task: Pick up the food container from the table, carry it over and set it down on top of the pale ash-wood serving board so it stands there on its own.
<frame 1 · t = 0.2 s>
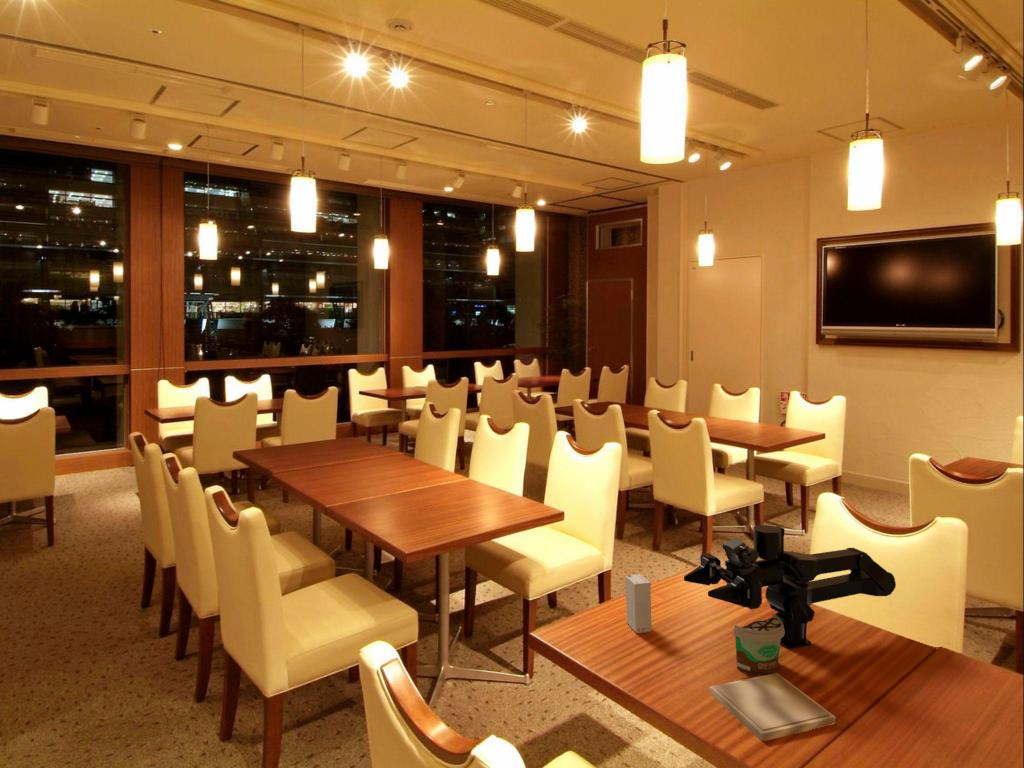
hand: (695, 586, 145), 16 cm above the table, tool horizontal, fingers open, 9 cm apart
serving board: (769, 711, 128), on the table
skincare box: (638, 628, 162), on the table
food container: (764, 671, 142), on the table
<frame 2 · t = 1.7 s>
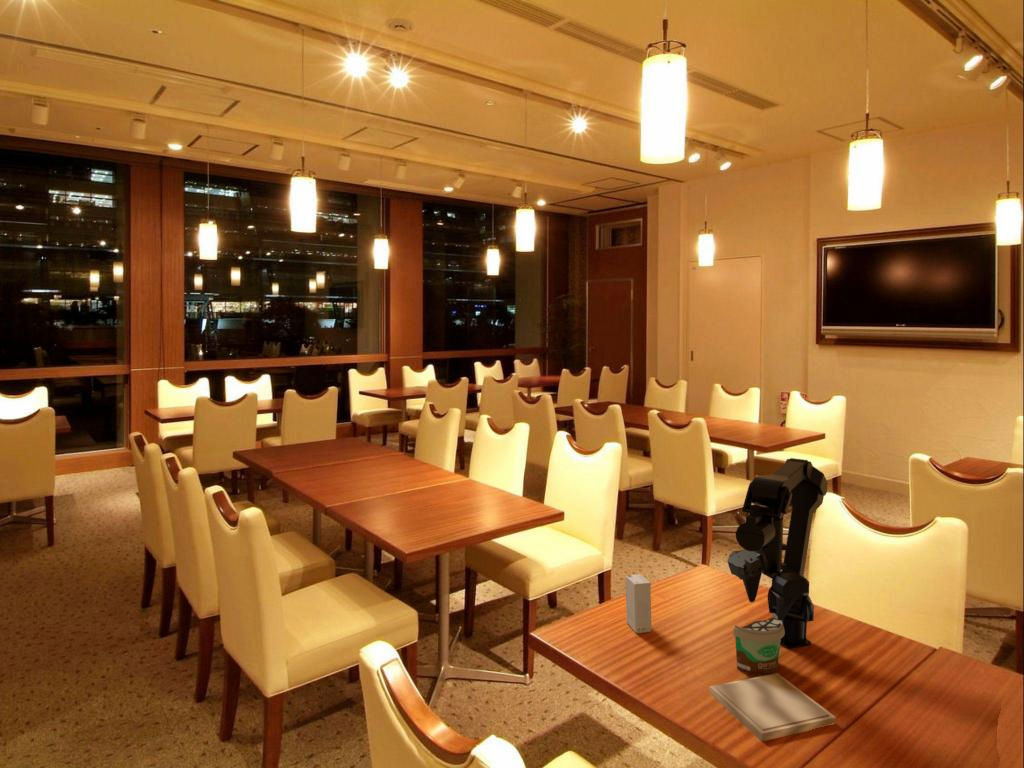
hand: (765, 610, 140), 13 cm above the table, tool pointing down, fingers open, 9 cm apart
nothing on the table moved.
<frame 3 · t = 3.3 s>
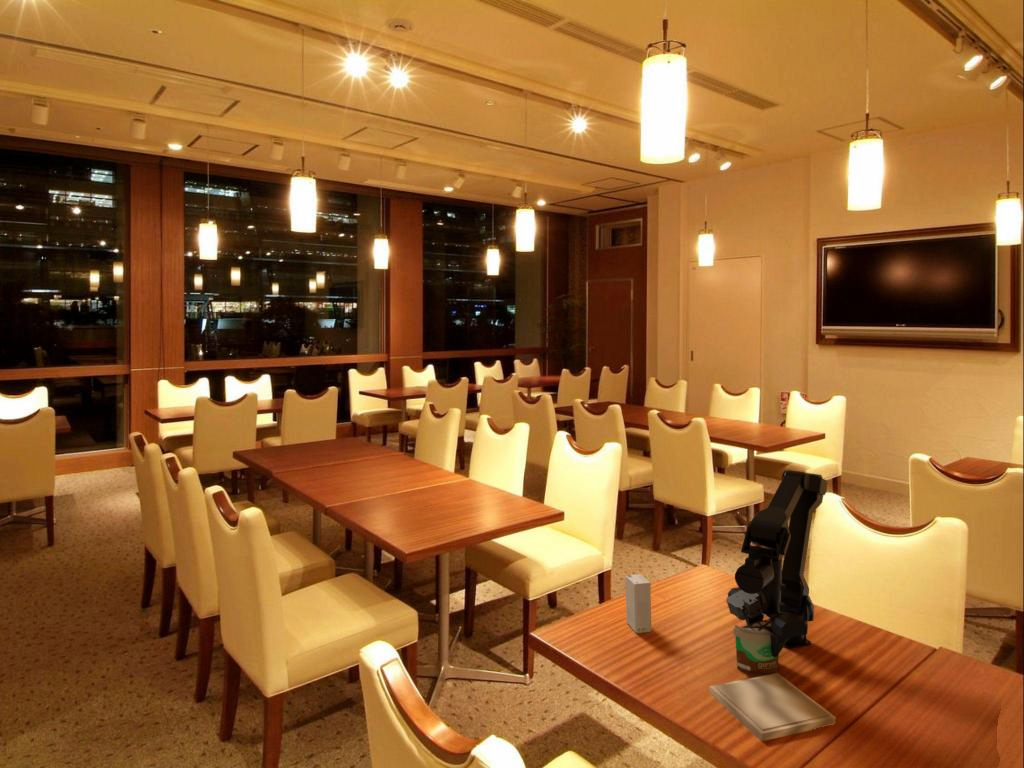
hand: (764, 649, 141), 5 cm above the table, tool pointing down, fingers closed on food container, 6 cm apart
food container: (764, 670, 142), on the table, touching gripper
everything else where it was.
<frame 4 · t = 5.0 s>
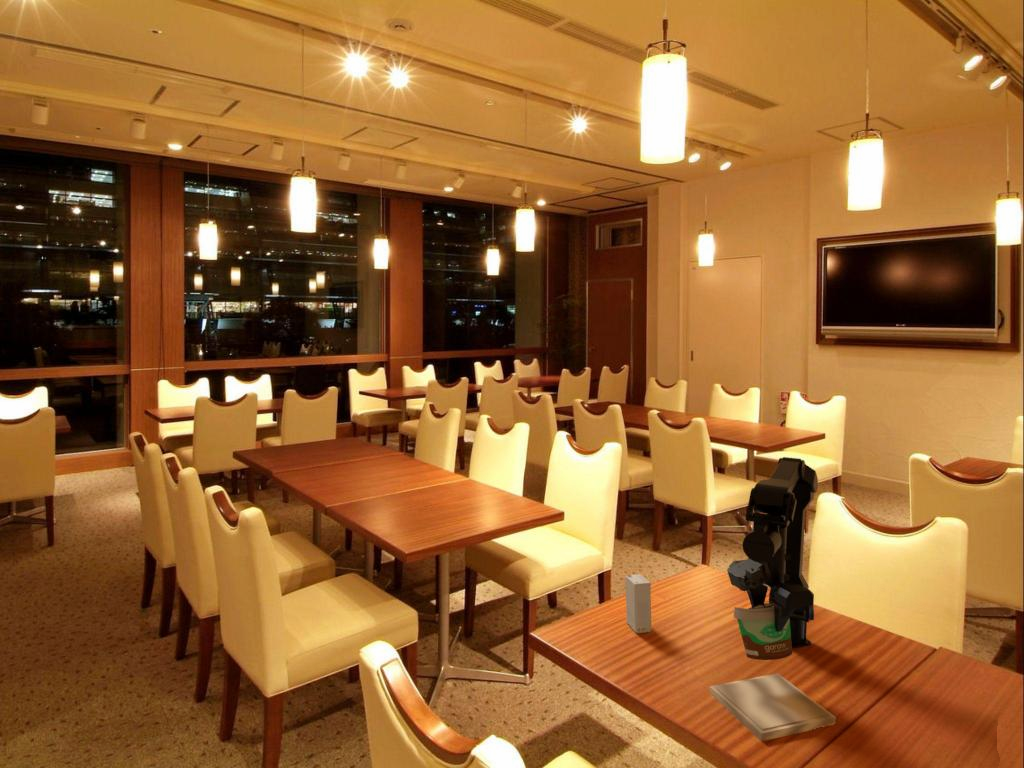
hand: (767, 624, 133), 14 cm above the table, tool pointing down, fingers closed on food container, 6 cm apart
food container: (776, 656, 132), point 8 cm above the table, touching gripper
everything else where it was.
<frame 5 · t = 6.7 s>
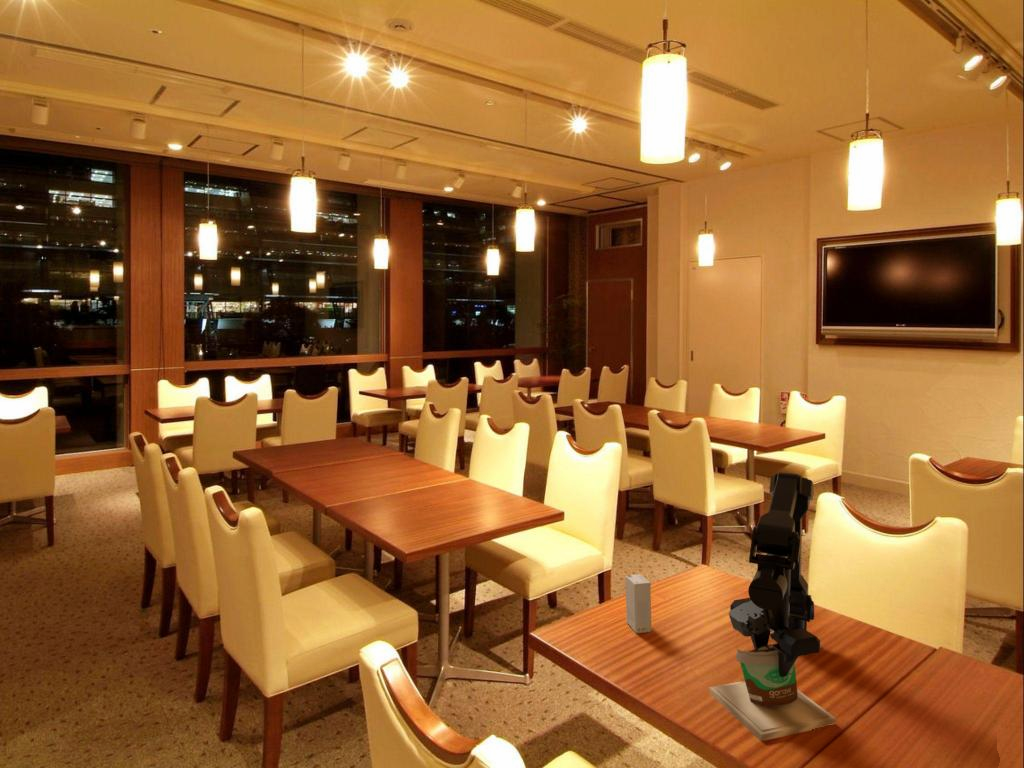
hand: (771, 668, 127), 8 cm above the table, tool pointing down, fingers closed on food container, 6 cm apart
serving board: (769, 712, 128), on the table, touching food container
food container: (781, 701, 126), point 2 cm above the table, touching gripper, serving board
everything else where it was.
when the fingers open (8 cm above the table, at t = 6.8 s): food container moves 1 cm, point 1 cm above the table.
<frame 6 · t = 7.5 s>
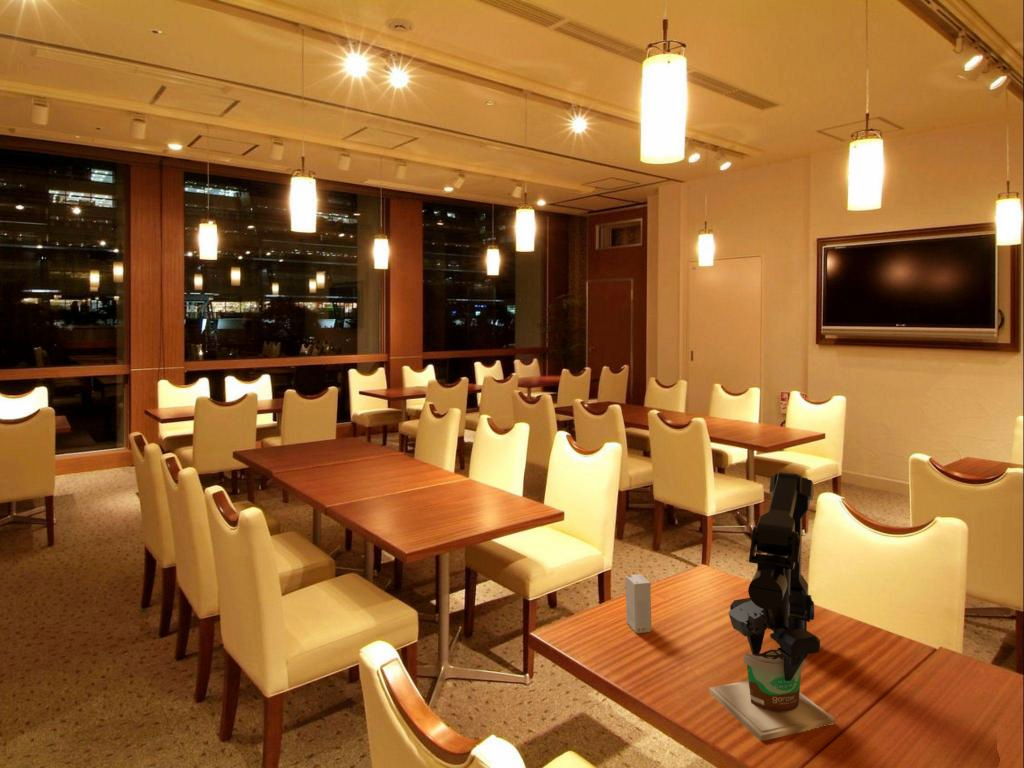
hand: (771, 668, 127), 8 cm above the table, tool pointing down, fingers open, 9 cm apart
serving board: (769, 712, 128), on the table
food container: (782, 706, 126), point 1 cm above the table, touching gripper
everything else where it was.
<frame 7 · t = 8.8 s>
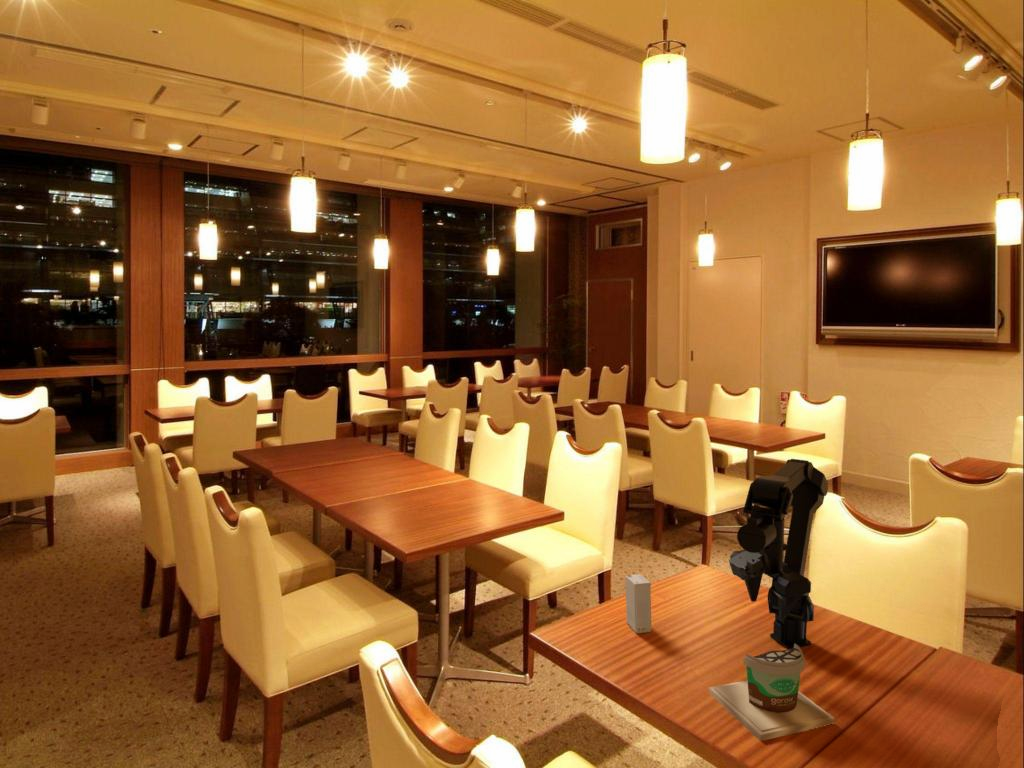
hand: (767, 610, 141), 13 cm above the table, tool pointing down, fingers open, 9 cm apart
serving board: (768, 712, 128), on the table, touching food container
food container: (780, 707, 126), point 1 cm above the table, touching serving board
everything else where it was.
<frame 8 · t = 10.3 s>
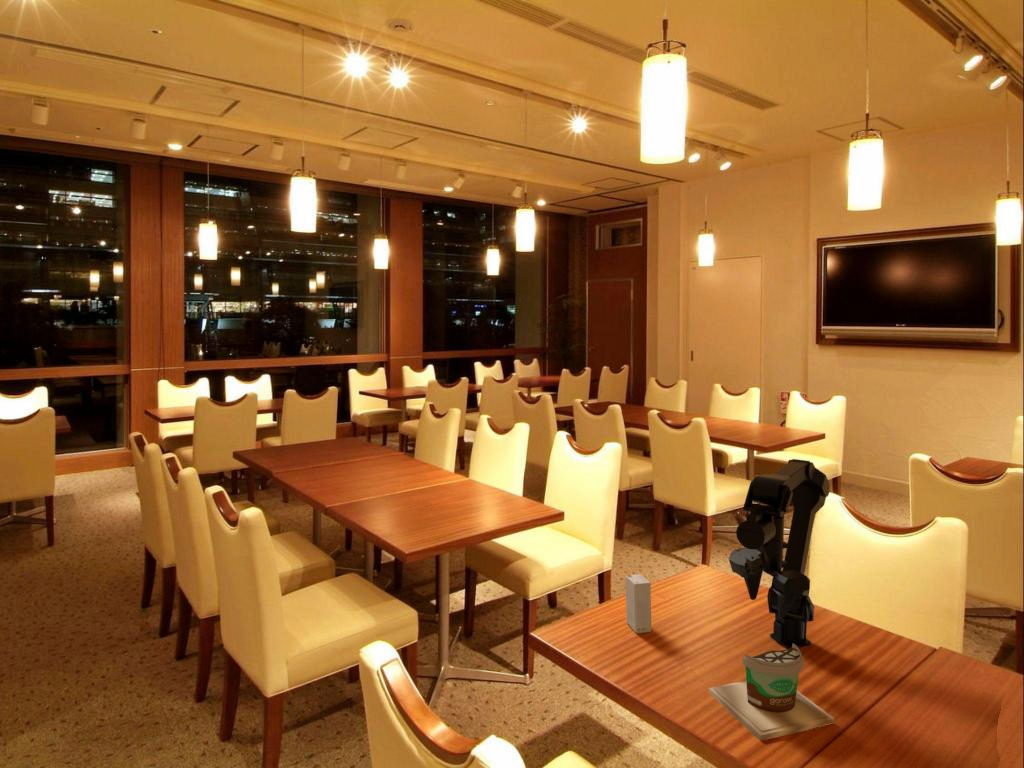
hand: (766, 608, 142), 13 cm above the table, tool pointing down, fingers open, 9 cm apart
nothing on the table moved.
at the end: food container inside the target area on the serving board (2.0 cm from its centre), point 2.0 cm above the serving board's base; food container tilted 0°; the gripper is holding nothing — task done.
